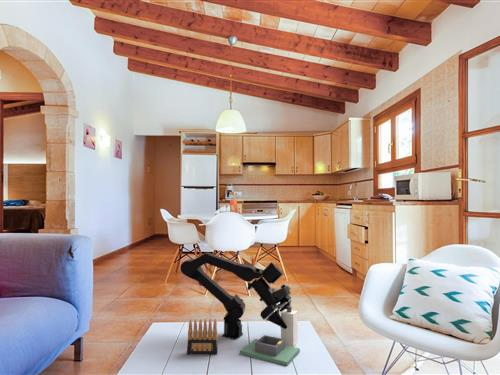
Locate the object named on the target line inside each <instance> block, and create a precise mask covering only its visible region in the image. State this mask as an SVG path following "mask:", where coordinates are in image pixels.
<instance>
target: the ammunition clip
mask: <svg viewBox="0 0 500 375" xmlns="http://www.w3.org/2000/svg"><path fill="white" fill-rule="evenodd" d="M197 321H198V320H197V319H196V318H195V319H194V322H193V321H192V319H191V318H190V319H189V321H188V330H187V346H186V355H192V356H193V355H194V356H195V355H197V356H199V355H201V356H202V355H208V356H209V355H211V356H212V355H214V356H216V355H218V328H217V327H218V326H217V324H218V323H217V320H216V318H214V320H213V322H212V319H211V318H210V319H209V320H208V321H207V318H205V319H204V321H203V322H202V319H201V318H200V319H199V321H198V322H197ZM207 322H208V324H207Z"/></svg>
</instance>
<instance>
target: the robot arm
mask: <svg viewBox="0 0 500 375" xmlns="http://www.w3.org/2000/svg"><path fill="white" fill-rule="evenodd" d="M205 264H207V265H211V266H214V267H216V268H219V269H221V270H224V271H225V272H228V273H232V274H233V275H235V276H236V277H237V278H239V279H241V280H242V281H244V282H247V291H251V290H252V289H253V290H254V291H255V293H256V294H257V295H258V296H259V297H260V298H259V301H260V302H263V303H264V304H265V305H266V307H265V308H263V310H261V312H260V318H261V319H262V320H263V321H266V322H267V321H268V322H270V323H272V324H275V325H277V326H278V327H280V328H281V327H282V328H284V329H286V328H287V325H286V324H285V322H284V321H283V319H282V317H281V312H282V311H283V310H285V309H287V306H291V302H292V297H291V291H290V290H291V287H289V285H287V284H286V283H284V284H282V285H281V286H280V288H279V289H276V288H275V287H271V286H270V284H273V285H274V284H275V283H276V282H277V281H278V280H279V279H280V278H282V277H283V276H284V272H283V271H282V270H281V268H280V267H279V266H277V265H276V264H274V262H270V263H269V264H268V265H267V266H266V267H265V268H264V269H261V268H256V267H255V266H254V265H252V264H248V263H240V262H235V261H233V260H229V259H227V258H224V257H221V256H218V255H215V254H213V253H211V252H205V253H203V254H202V255H200V256H198V257H196V258H189V259H186V260H185V261H182V262H181V264H180V269H179V270H180V272H181V273H182V274H183V275H184V276H186V278H189V279H192V280H194V281H196V282H198V283H199V284H200V285H201V286H202V287H203V288H204V289H205V290H206V291H207V292H209V293H210V294H211V295H212V296H213V297H215V298H216V299H217V300H218V301H219V302H220V303H221V304H222V305H223V307H224V309H225V311H226V314H225V315H224V317H223V330H224V331H223V333H222V335H221V337H223V338H227V339H231V340H237V339H238V338H240V337H241V336H243V335H244V332H243V324H242V320H241V318H242V317H243V316H244V313H245V311H246V303H245V302H244V299H242V298H241V297H240V296H239V295H238V294H236V293H235V294H234V295H232V294H230V293H228V292H227V291H226V290H225V289H224V288H223V287H221V286H220V285H219V284H218V283H217V282H216V281H214V279H213V278H211V277H210V276H209V275H208V274H206V273H205V271H204V269H203V268H202V266H203V265H205Z"/></svg>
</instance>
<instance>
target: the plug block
mask: <svg viewBox="0 0 500 375" xmlns="http://www.w3.org/2000/svg"><path fill="white" fill-rule="evenodd" d="M292 308H293V307H292V306H291V305H290V306H287V309H285V310H283V311H282V312H280V316H281V317H282V319H283V321H284V322H285V324H286V325H287V328H286V329H284V328H282V327H280V339H285V345H286V346H291V347H295V346H296V345H297V344H298V310H293V309H292Z"/></svg>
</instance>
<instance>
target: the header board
mask: <svg viewBox="0 0 500 375" xmlns="http://www.w3.org/2000/svg"><path fill="white" fill-rule="evenodd" d="M299 353H301V349H300V347H295V346H294V347H291V346H286V345H285V339H281V337H280V338H279V337H277V336H276V337H275V336H272V335H271V336H270V335H265V334H264V335H263V336H261V337H260V338H259V339H258V338H254V339H253V340H252V341H251V342H249V343H248V344H247V345H245V346H244V347H243V348H241V349H240V350H239V355H242V356H246V357H251V358H254V359H258V360H262V361H265V362H270V363H274V364H278V365H283V366H286V367H288V366H289V365H290V364H291V362H292V361H293V360H294V359H295V358H296V357H297V356H298V355H299Z"/></svg>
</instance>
